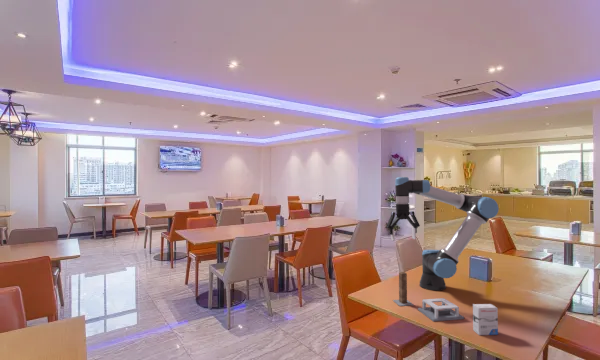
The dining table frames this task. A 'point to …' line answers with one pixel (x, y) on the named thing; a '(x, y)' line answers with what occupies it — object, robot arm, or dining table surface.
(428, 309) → the white open frame stand
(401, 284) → the walnut rod
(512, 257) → the dining table surface
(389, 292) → the dining table surface
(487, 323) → the ink box
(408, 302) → the mat
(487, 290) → the dining table surface
